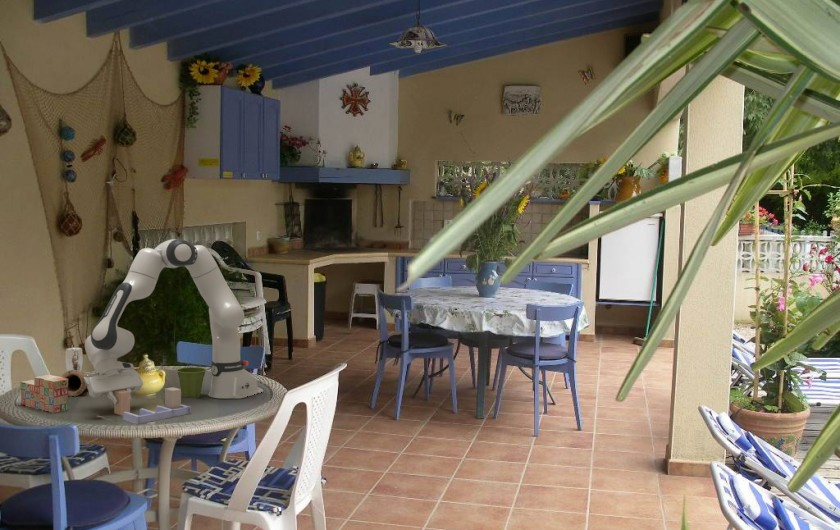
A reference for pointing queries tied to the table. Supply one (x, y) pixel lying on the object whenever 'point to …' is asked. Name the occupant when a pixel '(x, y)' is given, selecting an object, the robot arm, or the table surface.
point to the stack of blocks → (45, 393)
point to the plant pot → (191, 381)
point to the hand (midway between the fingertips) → (123, 401)
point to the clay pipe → (75, 382)
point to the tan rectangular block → (122, 402)
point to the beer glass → (74, 359)
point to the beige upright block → (172, 398)
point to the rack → (156, 414)
